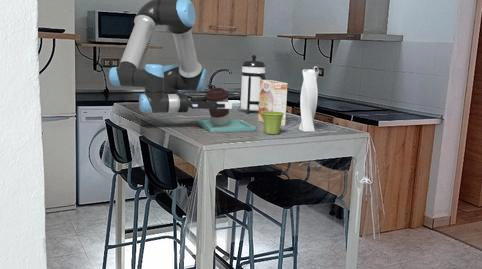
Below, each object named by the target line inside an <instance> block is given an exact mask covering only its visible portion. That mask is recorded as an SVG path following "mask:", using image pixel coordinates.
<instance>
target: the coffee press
mask: <svg viewBox="0 0 482 269" xmlns="http://www.w3.org/2000/svg"><path fill="white" fill-rule="evenodd" d="M251 58H252V59H246V60H244V61H243V62H242V63H241V71H240V72H241V78H240V81H241V82H240V104H239V107H238V108H237V112H238V111H239V112H241V111H243V110H244V111H246V114H250V113H251V112H254V111H255V112H256V111H257V112H259V95H260V80H267V79H266V67H267V66H266V63H265V62H264V61H263V60H258V59H257V55H256V54H252V56H251Z"/></svg>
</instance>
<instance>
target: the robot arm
mask: <svg viewBox="0 0 482 269" xmlns="http://www.w3.org/2000/svg"><path fill="white" fill-rule="evenodd" d="M195 8H196V7H195V6H194V4H193V1H192V0H149V1H148V2H146V3H145V4H144V5H142V6H141V7H140V8H139V10H138V11H137V12H136V15H135V16H134V20H133V23H134V26H133V29H132V32H131V34H130V37H129V39H128V42H127V44H126V47H125V50H124V52H123V54H122V57H121V60H120V62H119V64H118V66H114V67H113V66H112V67H111V68H110V69H109V71H108V80H109V82H110V84H111V85H112V86H115V87H127V88H128V87H131V88H144V93H142V94H139V98H138V106H139V110H140V112H142V113H147V114H149V113H150V114H154V113H155V114H156V113H157V114H159V113H161V114H162V113H163V114H164V113H169V114H170V115H172V113H188V111H189V108H191V109H194V110H195V109H198V110H200V109H201V110H209V109H215V111H217V109H229V110H230V109H231V110H232V109H233V102H232V101H228V102H215V103H214V102H208V101H207V100H206V97H205V95H204V96H203V97H191V98H189V97H188V96H189V95H188V94H185V93H183V94H182V93H179V91H185V92H203V91H204V90H205V87H206V85H207V79H208V69H206V68H204V67H203V66H202V64H201V63H200V62H199V61H198V58H197V52H196V48H195V43H194V38H193V33H192V29H193V27H194V26H195V24H196V20H197V18H196V17H197V16H196V9H195ZM156 26H167V30H168V31H169V32H170V34H172V36H173V40H174V41H173V42H174V44H175V47H176V52H177V57H178V59H179V63H180V66H179V64H169V65H168V64H167V65H162V64H157V63H155V64H150V63H147V64H145V65H144V68H139V66H140V63H141V60H142V58H143V55H144V52H145V49H146V47H147V44H148V42H149V39H150V36H151V33H152V32H153V31H154V30H155V29H156Z"/></svg>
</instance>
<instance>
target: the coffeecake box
mask: <svg viewBox="0 0 482 269" xmlns="http://www.w3.org/2000/svg"><path fill="white" fill-rule="evenodd" d="M287 95H288V82H282V81H278V80H273V79H266V80H260V95H259V111H258V119H257V121H258V122H260V123H262V124H264V121H263V116H262V113H261V112H264V111H276V112H283V113H284V115H283V118H282V121H281V126H280V127H285V126H286V118H287V116H286V115H287V100H288V99H287V98H288V96H287Z"/></svg>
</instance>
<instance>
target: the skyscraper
mask: <svg viewBox="0 0 482 269" xmlns="http://www.w3.org/2000/svg"><path fill="white" fill-rule="evenodd" d="M316 68H317V69H316ZM316 70H317V71H316ZM319 72H320V70H319V68H318V66H316V65H315V66H314V67H313V69H310V68H308V69H305V68H304V69H303V70H302V77H303V81H302V85H301V91H300V97H299V98H300V99H299V100H300V102H299V103H300V105H299V106H300V116H301V117H300V118H301V121H300V123H299V124H300V125H299V128H297V129H296V130H298V131H299V130H300V132H301V133H304V132H305V133H319V132H320V131H319V130H317V129H315V125H314V118H315V116H316V110H317V106H318V94H319V93H318V92H319V90H318V82H317V79H318V77H319Z"/></svg>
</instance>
